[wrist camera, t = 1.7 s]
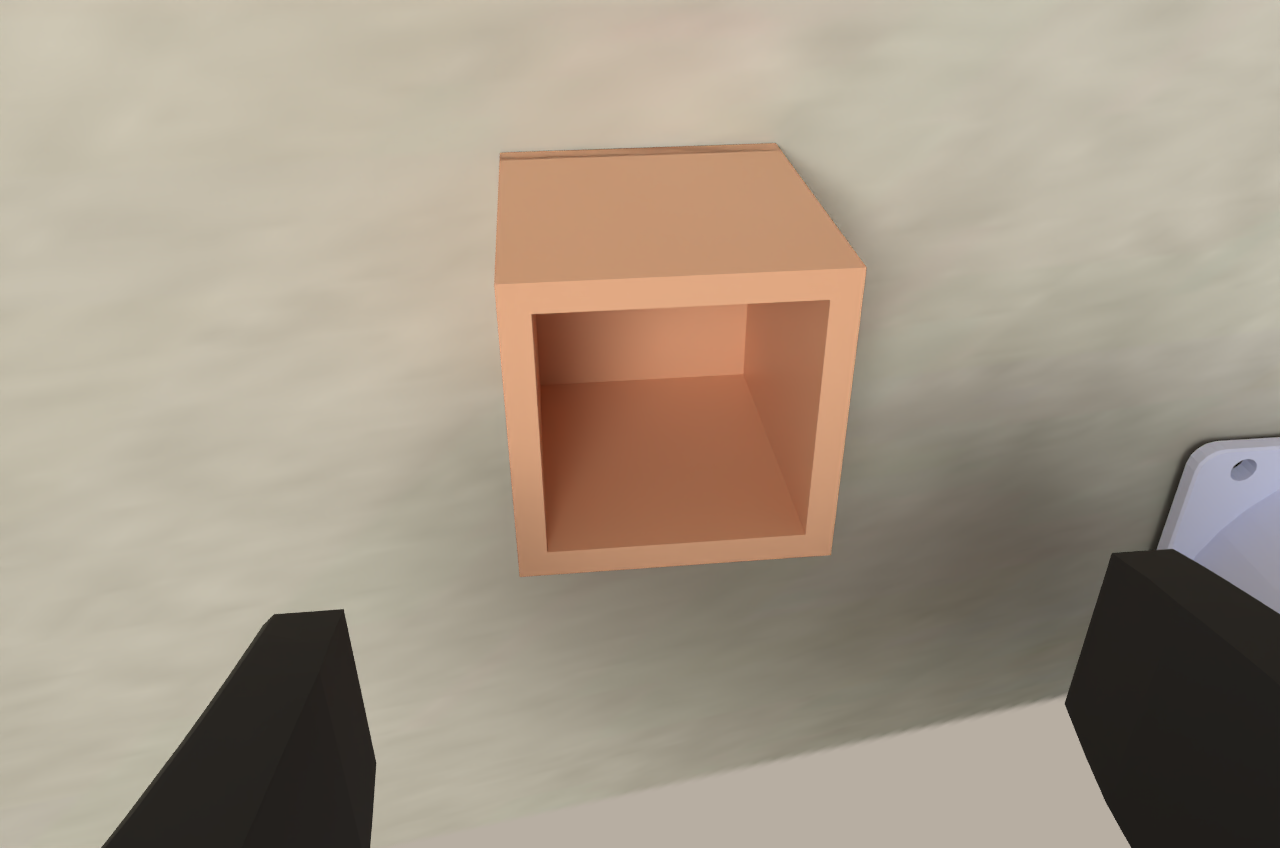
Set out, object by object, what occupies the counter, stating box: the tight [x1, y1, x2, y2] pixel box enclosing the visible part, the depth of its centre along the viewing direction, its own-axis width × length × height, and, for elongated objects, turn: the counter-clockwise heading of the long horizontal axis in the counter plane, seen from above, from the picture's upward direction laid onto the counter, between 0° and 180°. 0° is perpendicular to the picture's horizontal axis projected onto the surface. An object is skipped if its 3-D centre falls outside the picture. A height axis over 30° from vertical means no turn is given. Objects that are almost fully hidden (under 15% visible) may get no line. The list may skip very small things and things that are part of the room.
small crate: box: [494, 143, 867, 577], centre depth 15 cm, size 4×4×5 cm
